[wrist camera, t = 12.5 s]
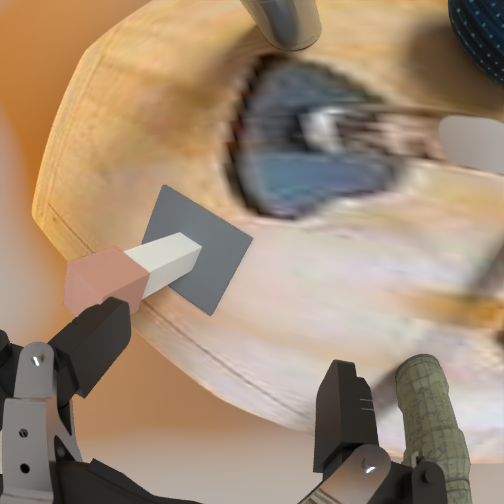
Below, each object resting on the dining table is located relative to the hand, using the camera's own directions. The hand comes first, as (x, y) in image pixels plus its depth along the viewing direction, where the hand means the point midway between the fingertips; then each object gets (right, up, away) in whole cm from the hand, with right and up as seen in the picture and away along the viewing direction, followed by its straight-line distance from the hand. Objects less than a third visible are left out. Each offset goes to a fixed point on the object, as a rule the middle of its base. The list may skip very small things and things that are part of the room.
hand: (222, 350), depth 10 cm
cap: (-15, 0, +23) cm, 28 cm away
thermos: (+30, -18, +30) cm, 46 cm away
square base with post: (-10, +4, +38) cm, 39 cm away
